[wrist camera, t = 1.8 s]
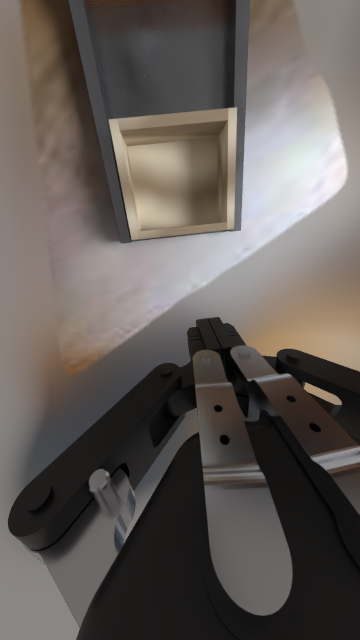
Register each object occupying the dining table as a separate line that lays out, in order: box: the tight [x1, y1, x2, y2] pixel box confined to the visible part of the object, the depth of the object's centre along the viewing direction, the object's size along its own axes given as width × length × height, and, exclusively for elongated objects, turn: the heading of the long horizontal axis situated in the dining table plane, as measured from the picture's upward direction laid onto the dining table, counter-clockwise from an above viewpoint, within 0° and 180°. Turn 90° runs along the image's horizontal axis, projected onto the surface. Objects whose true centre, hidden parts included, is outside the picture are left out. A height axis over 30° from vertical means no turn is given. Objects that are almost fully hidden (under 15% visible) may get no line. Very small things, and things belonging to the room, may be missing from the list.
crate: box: [109, 107, 237, 240], centre depth 22 cm, size 10×12×5 cm
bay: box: [69, 0, 250, 243], centre depth 21 cm, size 21×15×3 cm
